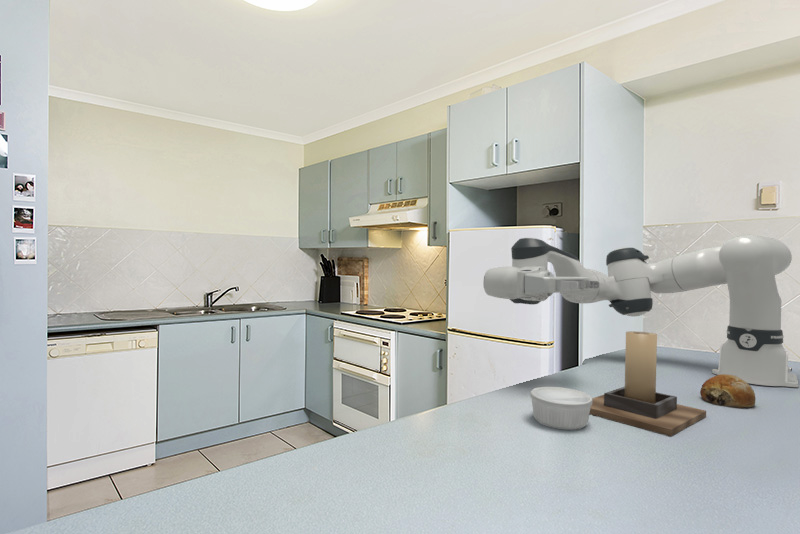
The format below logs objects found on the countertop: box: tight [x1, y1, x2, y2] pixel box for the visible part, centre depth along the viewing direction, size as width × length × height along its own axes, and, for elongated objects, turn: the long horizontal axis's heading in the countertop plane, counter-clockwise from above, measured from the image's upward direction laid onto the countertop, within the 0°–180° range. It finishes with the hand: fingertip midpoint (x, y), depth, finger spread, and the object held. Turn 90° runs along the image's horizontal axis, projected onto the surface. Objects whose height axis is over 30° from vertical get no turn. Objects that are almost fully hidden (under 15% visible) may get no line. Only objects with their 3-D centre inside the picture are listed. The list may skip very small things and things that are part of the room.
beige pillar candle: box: [624, 331, 658, 404], centre depth 93 cm, size 6×6×15 cm
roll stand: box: [589, 386, 707, 437], centre depth 93 cm, size 18×18×4 cm
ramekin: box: [529, 386, 593, 431], centre depth 87 cm, size 11×11×5 cm
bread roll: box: [699, 374, 757, 409], centre depth 103 cm, size 10×10×8 cm
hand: (589, 285), depth 107 cm, fingers open, 8 cm apart
